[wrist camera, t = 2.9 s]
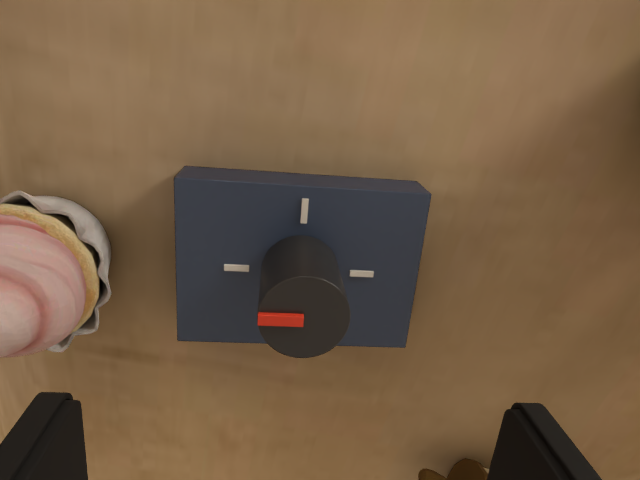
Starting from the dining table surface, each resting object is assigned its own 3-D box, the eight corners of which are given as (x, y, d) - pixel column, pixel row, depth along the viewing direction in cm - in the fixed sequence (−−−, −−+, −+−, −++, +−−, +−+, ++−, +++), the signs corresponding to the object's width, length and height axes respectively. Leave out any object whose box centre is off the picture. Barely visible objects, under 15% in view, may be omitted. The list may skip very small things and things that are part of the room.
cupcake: (-58, 198, 27) (-233, 269, 18) (94, 148, 27) (-5, 195, 18) (25, 331, 31) (-87, 448, 21) (161, 288, 30) (108, 389, 21)
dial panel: (417, 181, 29) (432, 194, 26) (394, 323, 33) (406, 349, 30) (184, 165, 28) (173, 178, 25) (186, 316, 31) (176, 342, 28)
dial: (341, 236, 27) (356, 281, 22) (334, 305, 28) (346, 363, 23) (263, 232, 26) (258, 276, 21) (259, 302, 28) (254, 361, 23)
